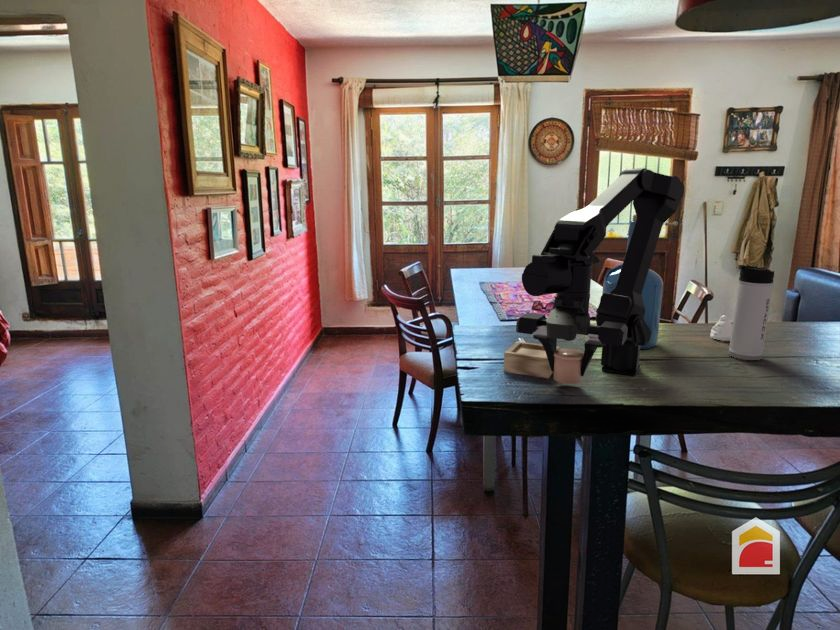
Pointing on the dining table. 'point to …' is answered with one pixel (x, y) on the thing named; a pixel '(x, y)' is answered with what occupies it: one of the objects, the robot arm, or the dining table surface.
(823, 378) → the dining table surface
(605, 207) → the robot arm
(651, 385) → the dining table surface
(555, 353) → the terracotta cup
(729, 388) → the dining table surface
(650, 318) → the blue bottle
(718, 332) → the garlic bulb
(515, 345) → the oak riser block
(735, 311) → the travel mug
